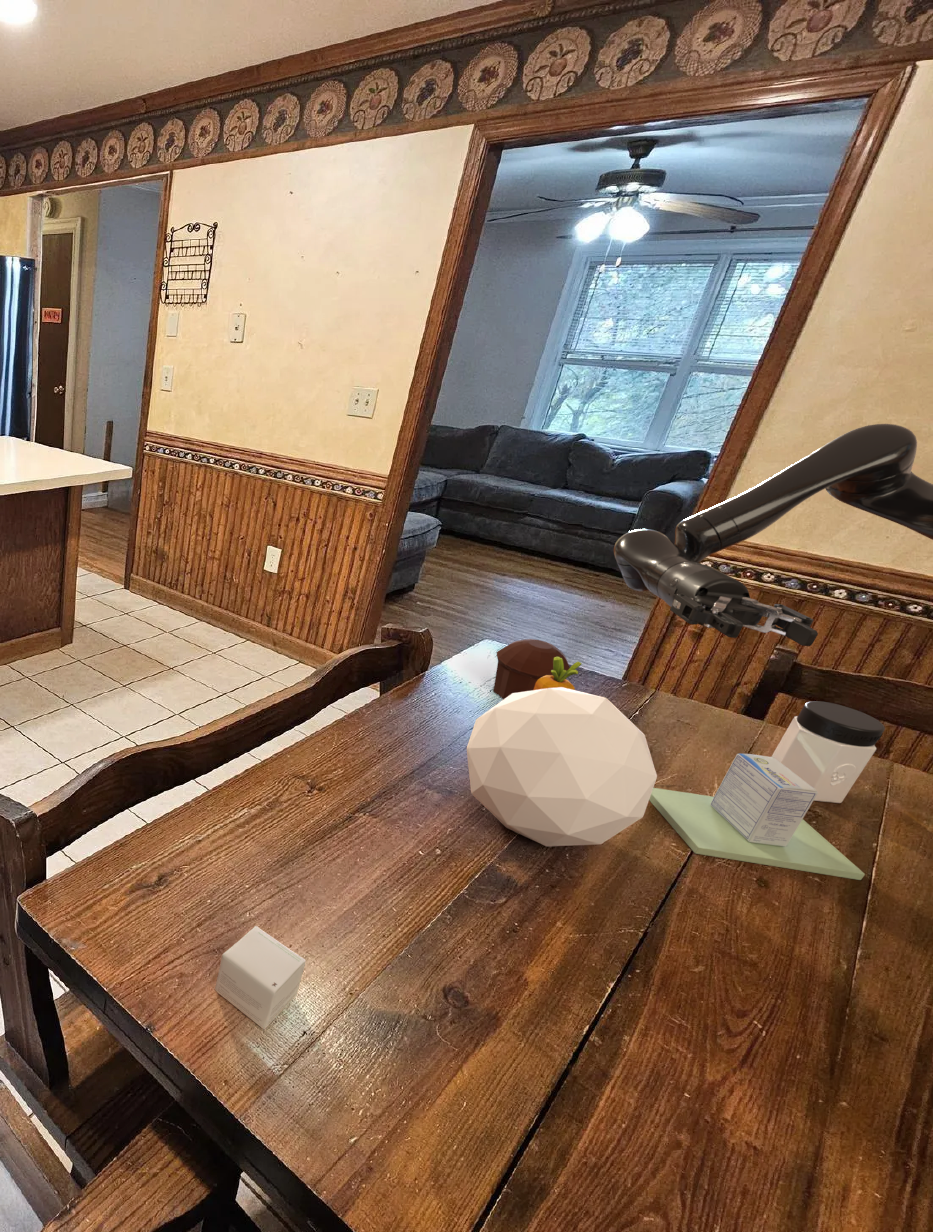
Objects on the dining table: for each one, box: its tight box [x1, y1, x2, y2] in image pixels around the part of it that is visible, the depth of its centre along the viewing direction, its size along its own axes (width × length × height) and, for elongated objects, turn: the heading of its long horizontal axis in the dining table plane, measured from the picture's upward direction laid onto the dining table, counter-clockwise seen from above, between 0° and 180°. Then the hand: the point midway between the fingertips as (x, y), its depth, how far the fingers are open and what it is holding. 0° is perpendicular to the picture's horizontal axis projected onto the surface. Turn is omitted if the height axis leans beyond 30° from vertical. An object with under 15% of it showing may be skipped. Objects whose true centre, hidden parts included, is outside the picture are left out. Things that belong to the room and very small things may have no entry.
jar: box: [770, 700, 886, 804], centre depth 102 cm, size 9×8×12 cm
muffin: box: [492, 638, 571, 700], centre depth 123 cm, size 12×11×10 cm
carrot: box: [533, 657, 583, 690], centre depth 108 cm, size 5×5×15 cm
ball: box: [466, 687, 658, 847], centre depth 89 cm, size 19×20×20 cm
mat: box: [649, 787, 866, 881], centre depth 94 cm, size 18×13×1 cm
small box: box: [214, 925, 307, 1030], centre depth 66 cm, size 6×6×5 cm
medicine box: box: [710, 753, 818, 847], centre depth 92 cm, size 8×4×9 cm, turn 171°
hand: (774, 635), depth 93 cm, fingers open, 8 cm apart
